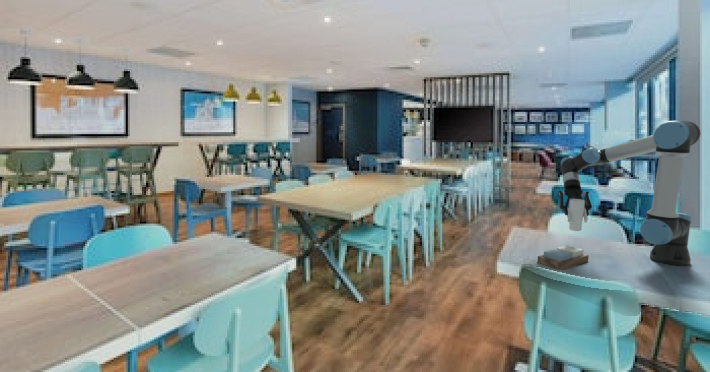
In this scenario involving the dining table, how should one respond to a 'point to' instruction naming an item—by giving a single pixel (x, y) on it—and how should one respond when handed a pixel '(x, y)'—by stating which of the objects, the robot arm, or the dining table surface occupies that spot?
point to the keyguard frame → (563, 264)
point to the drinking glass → (576, 214)
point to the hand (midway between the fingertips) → (577, 220)
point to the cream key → (572, 251)
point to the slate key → (557, 255)
